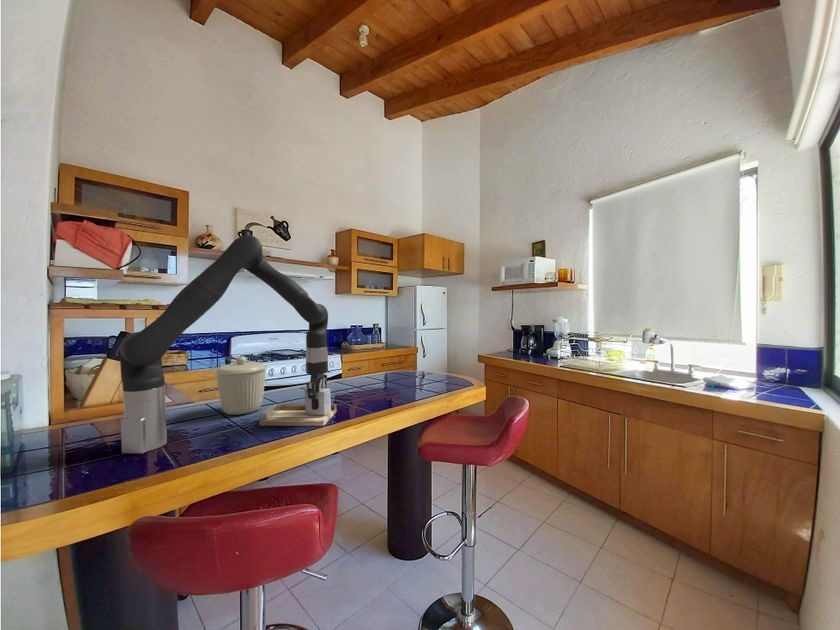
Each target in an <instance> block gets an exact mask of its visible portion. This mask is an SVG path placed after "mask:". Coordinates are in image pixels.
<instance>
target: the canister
mask: <svg viewBox="0 0 840 630" xmlns="http://www.w3.org/2000/svg"><path fill="white" fill-rule="evenodd" d="M268 368H269V367H268V366H267V365H266V364H264V363H262V362H258V361H257V362H256V361H247V358H246V357H245V356H238V357H237V358H236V359H235V363H229V364H223V365H221V366H219V367H218V368H216V369H214V371H213V373H214V374H215V376H216V383H217V390H218V395H219V400H220V404H221V406H220V407H221V409H222V411H223V413H225V414H227V415H229V416H232V415H233V416H239V415H247V414H251V413H254V412H255V411H258V410H260V408H261V407H262V405H263V403H264V402H263V401H264V391H265V383H266V382H265V381H266V370H267V369H268Z"/></svg>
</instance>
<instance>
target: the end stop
mask: <svg viewBox="0 0 840 630" xmlns="http://www.w3.org/2000/svg"><path fill="white" fill-rule="evenodd" d="M281 404H282V403H274V404H272V405H270V407H268V408H266V409H264V410H263V411H261V412H260V420H267V419H269V418H270V417H272V416H273V415H275V414H276V413H278V412H279V411H281Z"/></svg>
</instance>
